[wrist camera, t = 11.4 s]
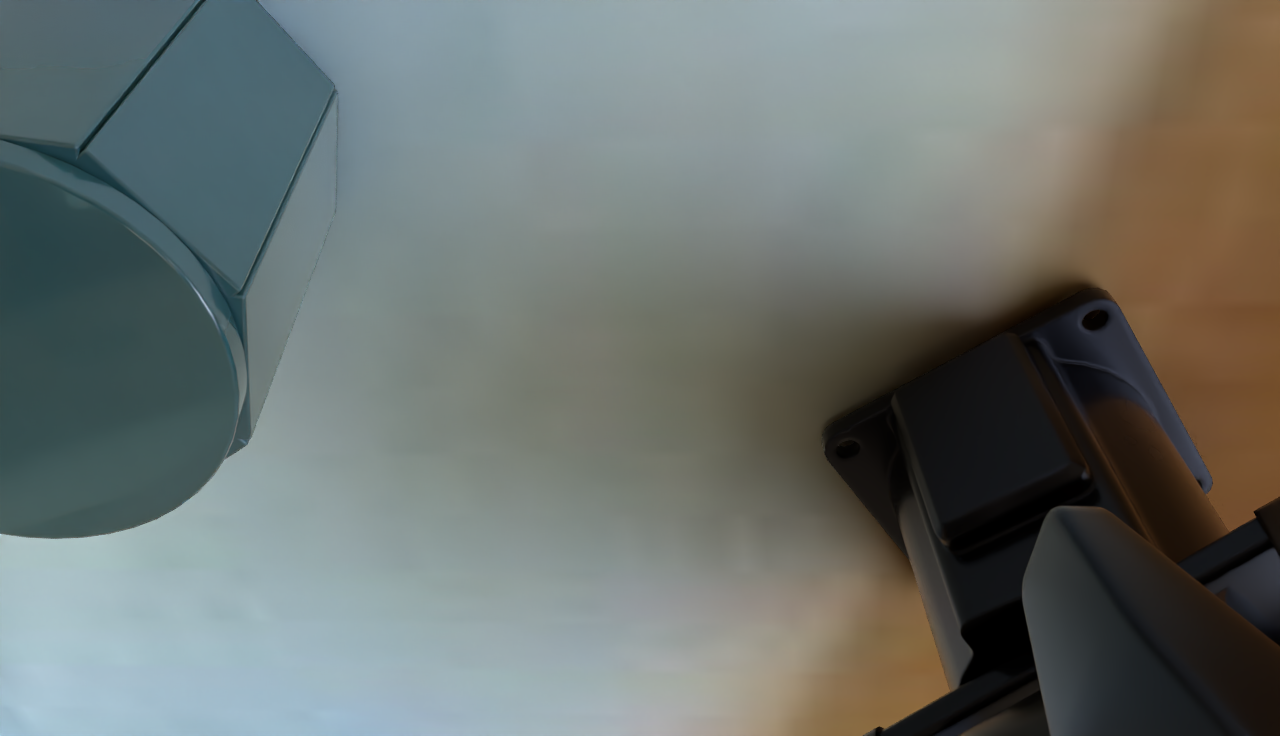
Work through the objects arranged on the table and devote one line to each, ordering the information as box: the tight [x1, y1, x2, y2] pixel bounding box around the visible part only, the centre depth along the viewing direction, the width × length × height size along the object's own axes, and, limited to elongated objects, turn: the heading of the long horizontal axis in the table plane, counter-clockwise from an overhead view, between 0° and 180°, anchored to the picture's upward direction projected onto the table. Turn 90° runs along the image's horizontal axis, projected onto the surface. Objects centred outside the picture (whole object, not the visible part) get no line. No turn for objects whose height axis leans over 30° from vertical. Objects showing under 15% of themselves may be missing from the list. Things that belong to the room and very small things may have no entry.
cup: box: [0, 0, 338, 539], centre depth 17 cm, size 6×6×7 cm
